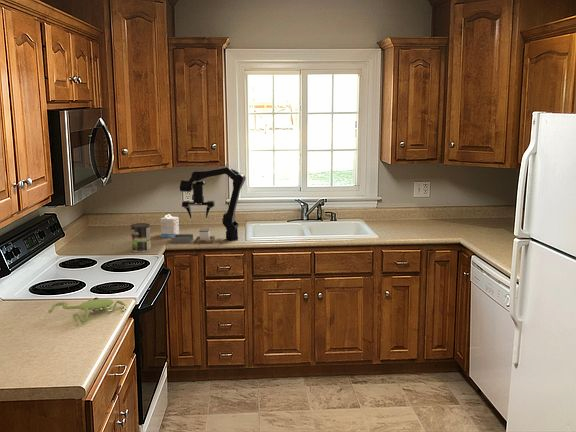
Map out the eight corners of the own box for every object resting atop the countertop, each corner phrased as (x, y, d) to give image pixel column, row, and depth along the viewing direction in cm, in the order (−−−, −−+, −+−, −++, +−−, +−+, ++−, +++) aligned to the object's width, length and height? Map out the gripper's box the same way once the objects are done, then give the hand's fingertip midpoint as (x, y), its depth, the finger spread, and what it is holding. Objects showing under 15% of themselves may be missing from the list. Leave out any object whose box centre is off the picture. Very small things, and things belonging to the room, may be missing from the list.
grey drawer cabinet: (193, 239, 362) (193, 233, 362) (190, 243, 352) (190, 237, 351) (174, 239, 362) (174, 234, 362) (171, 244, 352) (171, 238, 351)
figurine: (43, 319, 234) (42, 305, 232) (103, 300, 254) (102, 287, 253) (71, 330, 222) (70, 315, 221) (131, 309, 243) (131, 296, 242)
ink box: (174, 238, 366) (173, 216, 363) (160, 238, 367) (159, 215, 365) (179, 235, 374) (178, 213, 372) (166, 234, 376) (165, 213, 373)
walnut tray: (214, 239, 363) (214, 236, 363) (212, 244, 352) (212, 240, 351) (197, 239, 363) (197, 236, 363) (194, 244, 351) (194, 240, 351)
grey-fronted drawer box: (210, 239, 361) (209, 228, 360) (208, 242, 354) (208, 230, 352) (201, 239, 361) (200, 228, 360) (199, 242, 354) (199, 230, 352)
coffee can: (139, 253, 331) (138, 227, 328) (128, 250, 338) (126, 225, 335) (155, 249, 339) (153, 224, 336) (143, 246, 345) (142, 222, 343)
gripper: (215, 190, 370) (215, 215, 373) (184, 190, 370) (184, 215, 372) (213, 192, 359) (214, 219, 362) (181, 192, 359) (182, 219, 362)
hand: (198, 218), depth 365 cm, fingers open, 9 cm apart
